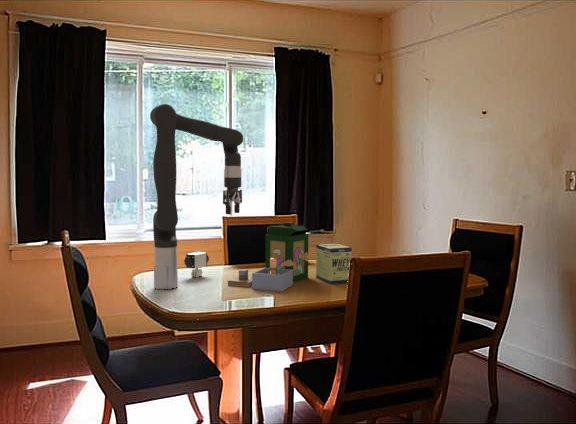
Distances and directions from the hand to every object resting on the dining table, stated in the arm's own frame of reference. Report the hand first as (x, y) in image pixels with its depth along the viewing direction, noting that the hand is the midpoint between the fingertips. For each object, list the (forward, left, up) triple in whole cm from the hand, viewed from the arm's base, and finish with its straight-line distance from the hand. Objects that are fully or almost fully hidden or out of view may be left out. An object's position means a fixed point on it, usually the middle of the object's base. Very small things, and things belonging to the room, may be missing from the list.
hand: (232, 213), depth 247 cm
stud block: (-4, -7, -30) cm, 31 cm away
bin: (-5, -21, -30) cm, 37 cm away
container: (+14, -20, -30) cm, 39 cm away
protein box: (+18, -41, -30) cm, 54 cm away
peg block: (-5, -21, -29) cm, 36 cm away
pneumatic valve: (+3, +20, -30) cm, 36 cm away
